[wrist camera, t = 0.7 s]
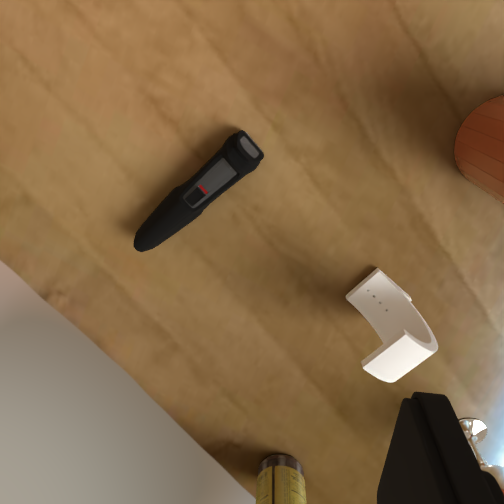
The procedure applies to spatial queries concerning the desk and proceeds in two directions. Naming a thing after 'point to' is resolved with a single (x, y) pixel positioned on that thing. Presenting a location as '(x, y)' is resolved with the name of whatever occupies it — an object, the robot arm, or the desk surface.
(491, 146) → the terracotta cup
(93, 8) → the desk surface
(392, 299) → the headphone stand
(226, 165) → the electric trimmer
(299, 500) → the sauce bottle
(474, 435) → the wineglass
